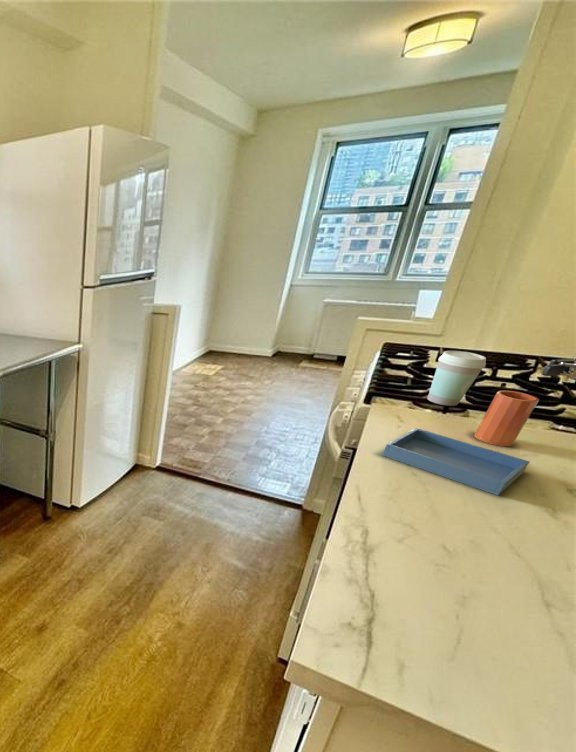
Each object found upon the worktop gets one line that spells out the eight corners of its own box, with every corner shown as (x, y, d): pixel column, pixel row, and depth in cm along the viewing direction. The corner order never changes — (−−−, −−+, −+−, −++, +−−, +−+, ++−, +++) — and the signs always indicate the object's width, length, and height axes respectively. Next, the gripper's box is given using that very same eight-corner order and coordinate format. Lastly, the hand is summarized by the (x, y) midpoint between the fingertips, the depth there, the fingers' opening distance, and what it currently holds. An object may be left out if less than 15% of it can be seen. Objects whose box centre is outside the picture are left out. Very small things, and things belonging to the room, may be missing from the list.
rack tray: (522, 473, 90) (530, 461, 89) (497, 495, 83) (505, 483, 82) (411, 438, 103) (416, 427, 101) (381, 455, 96) (386, 444, 95)
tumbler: (516, 441, 101) (542, 397, 97) (507, 448, 98) (534, 403, 94) (479, 431, 106) (502, 388, 101) (469, 438, 103) (493, 394, 98)
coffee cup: (459, 410, 116) (484, 362, 110) (415, 400, 122) (436, 353, 116) (469, 403, 120) (493, 356, 115) (426, 392, 126) (447, 348, 121)
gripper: (600, 345, 104) (539, 349, 102) (697, 366, 92) (630, 371, 90) (580, 378, 108) (520, 382, 106) (670, 402, 96) (605, 408, 93)
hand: (571, 377), depth 98 cm, fingers open, 8 cm apart
